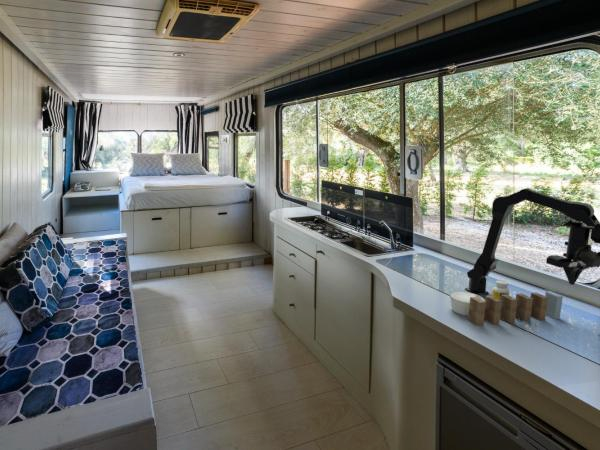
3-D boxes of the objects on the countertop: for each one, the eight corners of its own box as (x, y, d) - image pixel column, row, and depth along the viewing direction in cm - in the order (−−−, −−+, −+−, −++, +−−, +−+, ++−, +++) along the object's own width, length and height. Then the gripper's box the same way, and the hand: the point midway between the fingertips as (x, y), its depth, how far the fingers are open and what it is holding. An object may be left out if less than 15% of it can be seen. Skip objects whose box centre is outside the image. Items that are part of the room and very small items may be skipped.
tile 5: (467, 319, 139) (470, 297, 138) (473, 319, 140) (476, 296, 138) (477, 325, 134) (479, 302, 133) (483, 325, 135) (485, 302, 133)
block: (542, 313, 146) (545, 291, 144) (548, 312, 146) (551, 291, 145) (554, 319, 141) (557, 296, 140) (559, 318, 142) (562, 296, 140)
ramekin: (488, 318, 141) (490, 303, 140) (455, 317, 141) (456, 302, 140) (475, 305, 152) (476, 292, 151) (445, 305, 152) (446, 291, 151)
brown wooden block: (498, 317, 142) (501, 294, 140) (504, 316, 142) (506, 294, 141) (509, 323, 137) (511, 300, 136) (514, 322, 138) (517, 299, 136)
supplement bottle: (498, 311, 147) (501, 284, 145) (487, 305, 152) (490, 280, 150) (510, 309, 148) (513, 283, 147) (499, 304, 154) (502, 279, 152)
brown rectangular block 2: (528, 314, 145) (531, 292, 143) (533, 314, 145) (536, 292, 144) (539, 320, 140) (542, 297, 138) (544, 319, 140) (548, 297, 139)
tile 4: (483, 318, 140) (485, 296, 139) (489, 317, 141) (491, 295, 139) (493, 324, 136) (496, 301, 134) (499, 323, 136) (501, 300, 135)
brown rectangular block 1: (513, 315, 143) (516, 293, 142) (519, 315, 144) (521, 293, 142) (524, 321, 138) (527, 299, 137) (530, 321, 139) (532, 298, 137)
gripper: (576, 246, 131) (569, 293, 134) (623, 245, 135) (615, 290, 138) (548, 239, 141) (542, 282, 144) (592, 237, 146) (585, 280, 148)
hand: (571, 284), depth 143 cm, fingers closed
